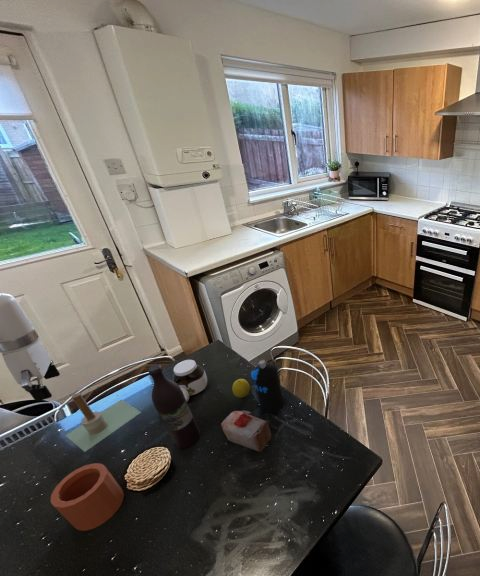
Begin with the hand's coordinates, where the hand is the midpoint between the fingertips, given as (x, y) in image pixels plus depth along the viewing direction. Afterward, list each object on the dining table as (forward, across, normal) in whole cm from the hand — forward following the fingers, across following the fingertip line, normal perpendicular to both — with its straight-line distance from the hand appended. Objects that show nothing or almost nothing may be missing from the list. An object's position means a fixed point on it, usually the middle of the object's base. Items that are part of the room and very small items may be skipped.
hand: (48, 387), depth 89 cm
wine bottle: (+20, +20, +28) cm, 40 cm away
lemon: (+20, +12, +47) cm, 52 cm away
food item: (+20, +30, +45) cm, 58 cm away
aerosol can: (+20, +21, +55) cm, 62 cm away
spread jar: (+20, 0, +31) cm, 37 cm away
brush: (+20, 0, +5) cm, 21 cm away
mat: (+21, 0, +6) cm, 21 cm away
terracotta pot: (+21, +30, +8) cm, 37 cm away
